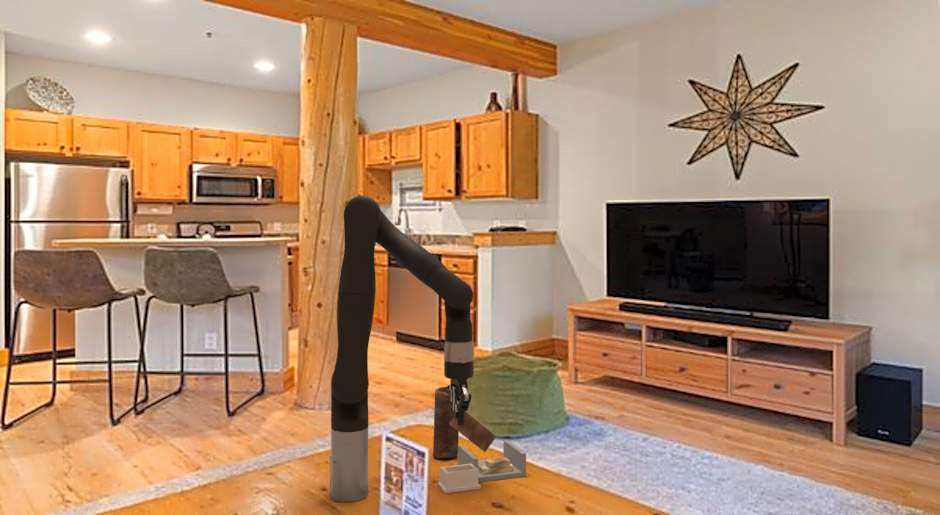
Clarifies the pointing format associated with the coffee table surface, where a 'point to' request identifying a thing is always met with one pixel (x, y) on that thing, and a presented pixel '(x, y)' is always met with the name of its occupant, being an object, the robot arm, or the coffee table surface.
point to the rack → (510, 452)
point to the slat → (474, 431)
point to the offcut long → (495, 469)
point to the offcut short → (497, 462)
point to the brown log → (444, 426)
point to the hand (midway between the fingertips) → (459, 425)
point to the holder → (458, 478)
